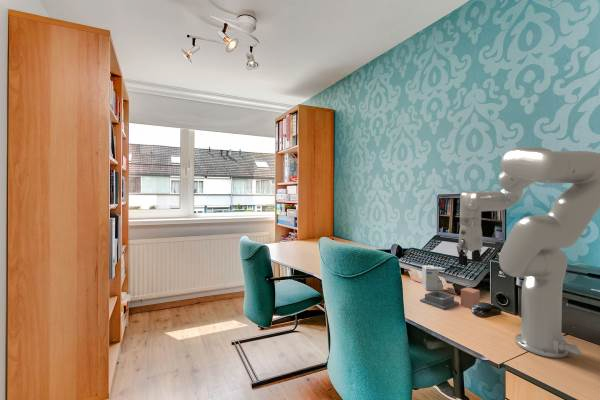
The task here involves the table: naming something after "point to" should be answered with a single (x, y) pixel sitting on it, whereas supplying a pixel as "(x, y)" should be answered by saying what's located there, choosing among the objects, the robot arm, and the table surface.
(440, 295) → the grey flanged tray
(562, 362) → the table surface
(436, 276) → the light bulb box
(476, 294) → the reddish brown block
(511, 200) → the robot arm
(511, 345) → the table surface
